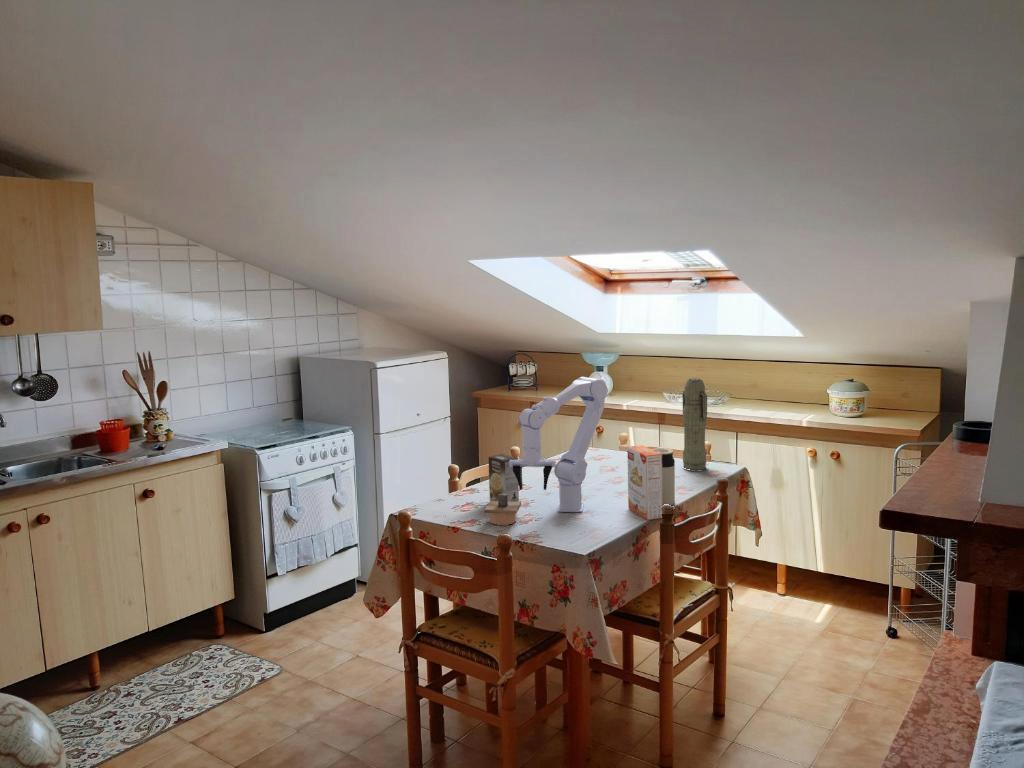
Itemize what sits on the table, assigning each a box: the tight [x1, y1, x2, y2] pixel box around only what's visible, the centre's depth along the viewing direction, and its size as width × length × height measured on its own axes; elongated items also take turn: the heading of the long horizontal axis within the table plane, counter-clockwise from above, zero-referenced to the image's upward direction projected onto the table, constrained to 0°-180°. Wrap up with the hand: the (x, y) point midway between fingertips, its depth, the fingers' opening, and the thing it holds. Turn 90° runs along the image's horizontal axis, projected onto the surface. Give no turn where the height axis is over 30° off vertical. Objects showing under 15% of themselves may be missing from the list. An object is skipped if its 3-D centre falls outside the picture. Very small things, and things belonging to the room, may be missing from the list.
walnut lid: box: [483, 494, 522, 514], centre depth 254 cm, size 10×10×4 cm
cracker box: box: [626, 445, 664, 521], centre depth 258 cm, size 14×6×21 cm, turn 16°
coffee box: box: [488, 453, 520, 502], centre depth 275 cm, size 9×6×16 cm
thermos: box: [682, 378, 708, 471], centre depth 314 cm, size 9×12×35 cm
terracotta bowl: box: [489, 513, 518, 526], centre depth 255 cm, size 8×8×4 cm
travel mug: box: [651, 447, 676, 506], centre depth 269 cm, size 8×8×18 cm
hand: (533, 488), depth 257 cm, fingers open, 7 cm apart
